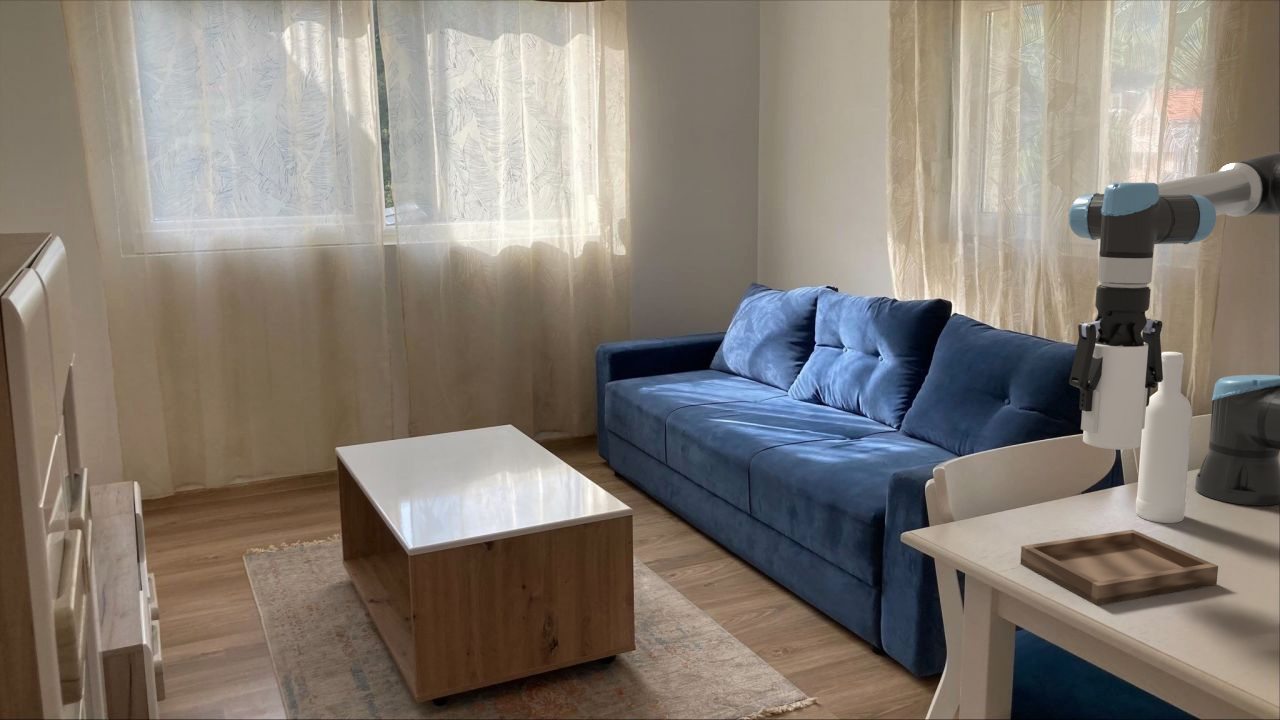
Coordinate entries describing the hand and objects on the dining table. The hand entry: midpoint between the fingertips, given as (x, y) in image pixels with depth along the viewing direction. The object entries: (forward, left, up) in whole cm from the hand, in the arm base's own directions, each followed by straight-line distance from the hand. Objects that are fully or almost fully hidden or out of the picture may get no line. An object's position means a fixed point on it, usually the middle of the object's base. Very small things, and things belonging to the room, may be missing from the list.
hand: (1112, 428), depth 160 cm
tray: (+2, +5, -22) cm, 23 cm away
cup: (0, 0, -2) cm, 2 cm away
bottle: (-25, -14, -22) cm, 36 cm away
